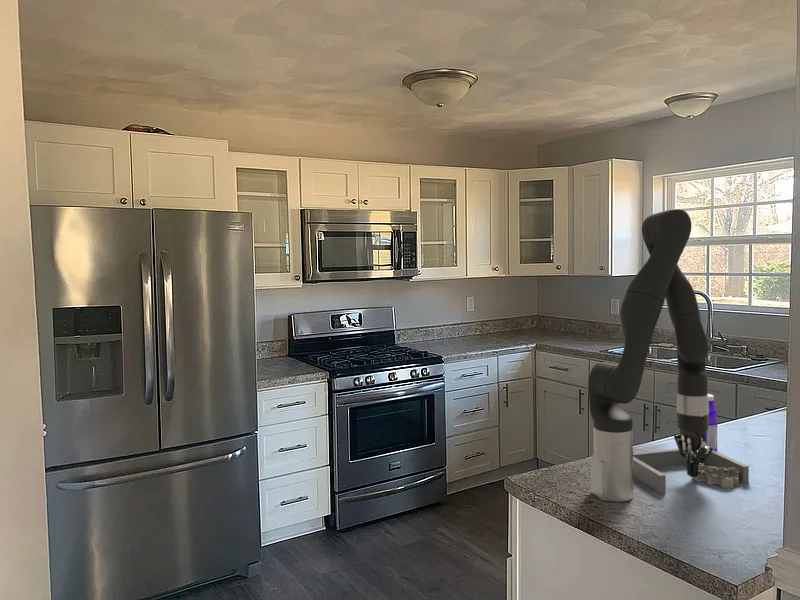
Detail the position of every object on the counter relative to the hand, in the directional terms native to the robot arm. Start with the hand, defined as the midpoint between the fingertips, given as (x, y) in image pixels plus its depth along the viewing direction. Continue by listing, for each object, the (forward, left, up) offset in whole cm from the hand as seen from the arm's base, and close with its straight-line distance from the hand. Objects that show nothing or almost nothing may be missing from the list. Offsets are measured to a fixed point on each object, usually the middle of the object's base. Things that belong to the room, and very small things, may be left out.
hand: (692, 475), depth 162 cm
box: (0, +3, -2) cm, 3 cm away
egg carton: (+6, -1, -2) cm, 6 cm away
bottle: (+18, +19, -2) cm, 26 cm away
